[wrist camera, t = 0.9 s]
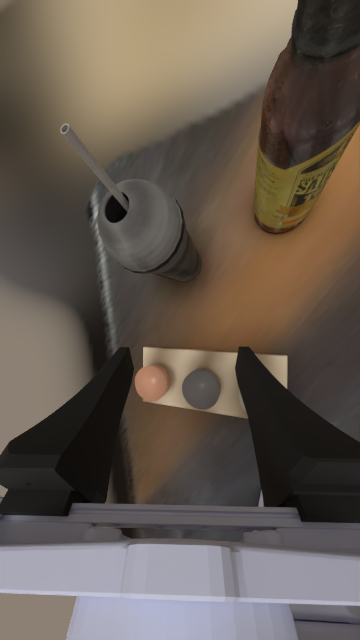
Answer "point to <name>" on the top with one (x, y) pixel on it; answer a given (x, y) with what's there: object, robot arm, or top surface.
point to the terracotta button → (152, 382)
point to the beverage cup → (142, 224)
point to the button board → (219, 363)
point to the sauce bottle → (308, 111)
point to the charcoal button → (201, 388)
